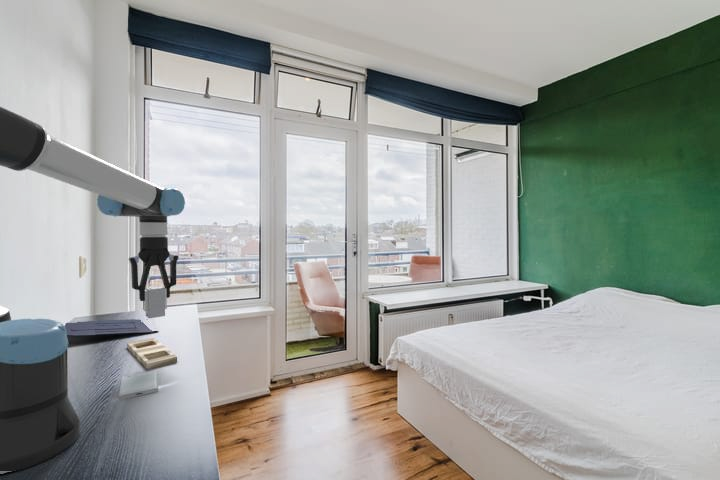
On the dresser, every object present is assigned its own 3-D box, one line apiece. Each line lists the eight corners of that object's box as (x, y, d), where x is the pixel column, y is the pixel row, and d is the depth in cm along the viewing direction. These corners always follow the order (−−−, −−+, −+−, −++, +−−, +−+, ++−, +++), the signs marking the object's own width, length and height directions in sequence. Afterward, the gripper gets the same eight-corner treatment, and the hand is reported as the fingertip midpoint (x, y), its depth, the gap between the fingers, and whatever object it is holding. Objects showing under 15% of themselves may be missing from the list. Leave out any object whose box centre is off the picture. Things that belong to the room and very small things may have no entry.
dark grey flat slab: (65, 328, 135) (66, 319, 136) (151, 325, 154) (152, 317, 154) (58, 344, 116) (60, 334, 116) (157, 338, 134) (159, 329, 135)
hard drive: (121, 376, 91) (118, 395, 80) (156, 370, 95) (158, 386, 85) (121, 382, 91) (118, 402, 80) (156, 375, 95) (158, 393, 85)
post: (165, 315, 106) (164, 287, 105) (149, 318, 103) (148, 289, 102) (161, 313, 109) (160, 286, 109) (145, 315, 106) (145, 287, 106)
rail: (177, 363, 103) (177, 356, 103) (147, 371, 97) (147, 363, 97) (153, 343, 121) (153, 337, 121) (127, 349, 115) (127, 343, 115)
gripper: (180, 235, 114) (181, 303, 115) (118, 236, 102) (119, 312, 102) (187, 236, 108) (188, 307, 109) (122, 236, 96) (124, 316, 97)
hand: (155, 309), depth 106 cm, fingers closed on post, 4 cm apart
